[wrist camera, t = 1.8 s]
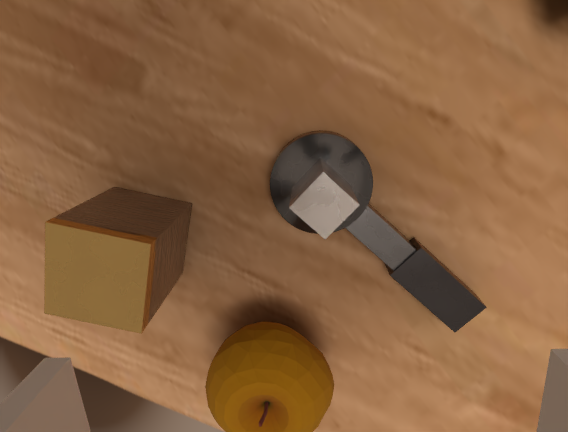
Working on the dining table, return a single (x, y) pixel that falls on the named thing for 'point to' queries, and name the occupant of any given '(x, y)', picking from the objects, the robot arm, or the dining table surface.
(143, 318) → the lidded square canister
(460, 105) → the dining table surface
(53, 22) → the dining table surface
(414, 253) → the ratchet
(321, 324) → the dining table surface
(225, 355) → the apple
